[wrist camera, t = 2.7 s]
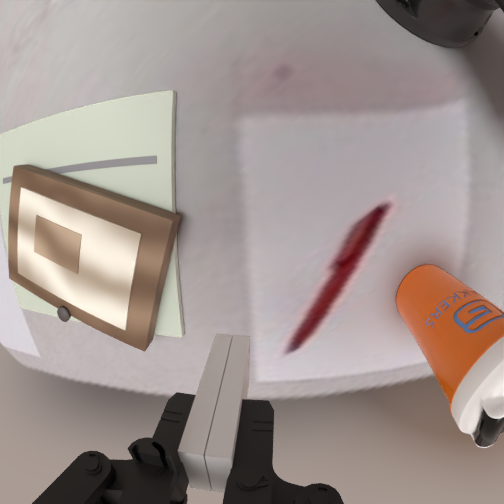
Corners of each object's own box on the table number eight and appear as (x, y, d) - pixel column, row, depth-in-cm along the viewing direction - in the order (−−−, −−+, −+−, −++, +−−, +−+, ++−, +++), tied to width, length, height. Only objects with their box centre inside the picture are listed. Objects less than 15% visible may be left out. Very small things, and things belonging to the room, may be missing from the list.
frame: (27, 164, 26) (10, 166, 23) (181, 215, 26) (170, 222, 23) (20, 277, 31) (7, 285, 28) (151, 345, 31) (142, 360, 28)
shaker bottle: (456, 305, 29) (550, 409, 10) (397, 338, 30) (466, 472, 11) (444, 242, 27) (575, 332, 8) (378, 278, 28) (477, 419, 9)
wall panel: (2, 135, 26) (-3, 135, 25) (176, 92, 24) (172, 89, 23) (23, 304, 34) (19, 307, 33) (184, 333, 32) (182, 338, 31)
